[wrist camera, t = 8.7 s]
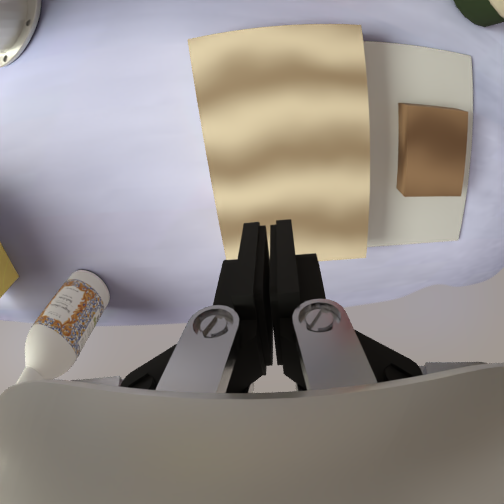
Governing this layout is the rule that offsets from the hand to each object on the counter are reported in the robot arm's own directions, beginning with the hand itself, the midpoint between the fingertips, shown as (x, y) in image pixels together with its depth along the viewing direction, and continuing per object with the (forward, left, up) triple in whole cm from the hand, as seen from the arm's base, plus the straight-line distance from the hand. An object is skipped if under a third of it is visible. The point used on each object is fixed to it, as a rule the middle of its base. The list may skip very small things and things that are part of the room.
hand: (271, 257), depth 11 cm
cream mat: (+1, +15, -20) cm, 25 cm away
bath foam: (+16, -28, -21) cm, 38 cm away
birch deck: (0, +1, -20) cm, 20 cm away
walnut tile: (+1, +16, -17) cm, 24 cm away
